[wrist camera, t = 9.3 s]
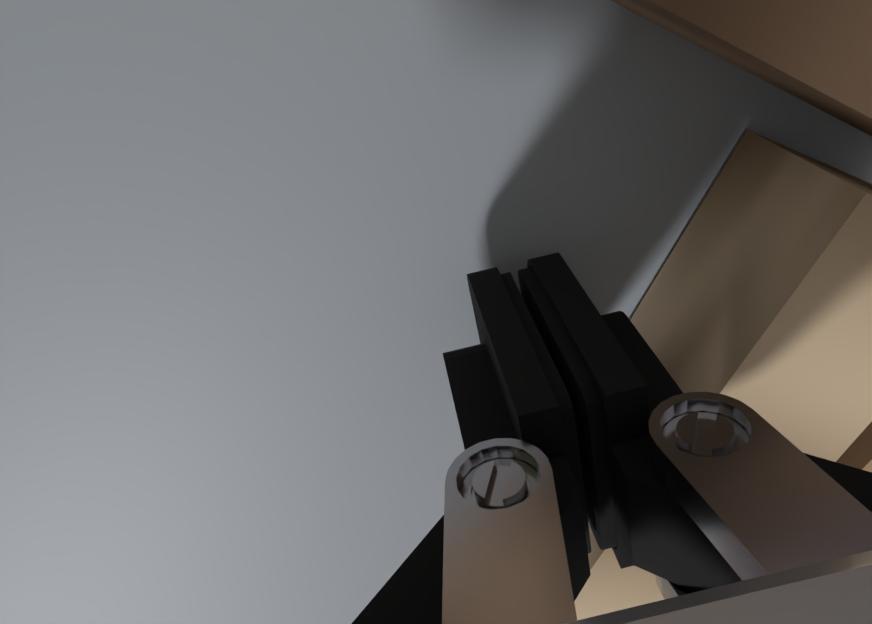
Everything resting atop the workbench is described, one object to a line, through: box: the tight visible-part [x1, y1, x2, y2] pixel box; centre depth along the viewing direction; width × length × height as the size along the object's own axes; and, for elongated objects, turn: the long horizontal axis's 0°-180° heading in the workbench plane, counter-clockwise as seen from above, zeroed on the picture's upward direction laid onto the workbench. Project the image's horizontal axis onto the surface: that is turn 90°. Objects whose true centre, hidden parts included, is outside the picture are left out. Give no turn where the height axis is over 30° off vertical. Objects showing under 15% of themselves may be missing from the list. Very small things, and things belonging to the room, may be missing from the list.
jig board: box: [0, 0, 872, 624], centre depth 12 cm, size 18×20×4 cm
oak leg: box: [574, 130, 872, 620], centre depth 13 cm, size 12×3×3 cm, turn 158°
